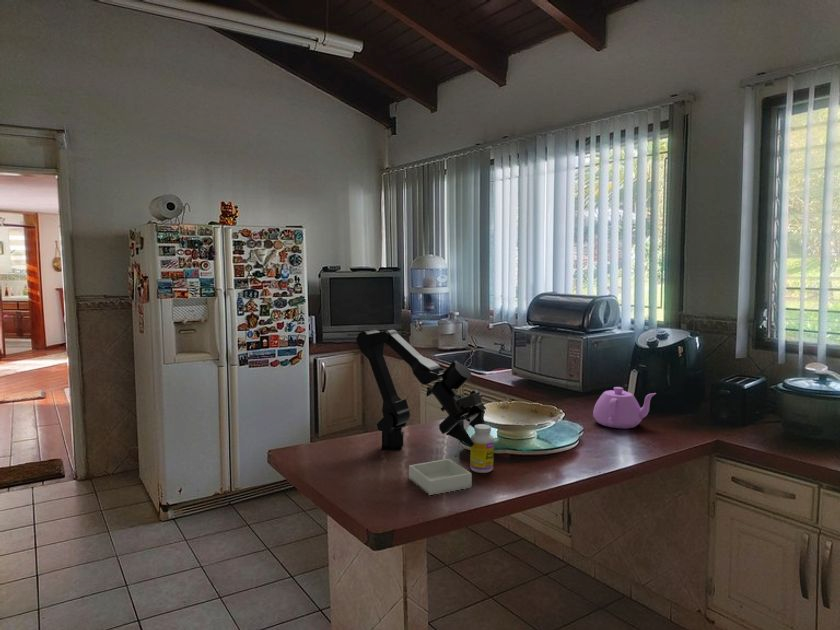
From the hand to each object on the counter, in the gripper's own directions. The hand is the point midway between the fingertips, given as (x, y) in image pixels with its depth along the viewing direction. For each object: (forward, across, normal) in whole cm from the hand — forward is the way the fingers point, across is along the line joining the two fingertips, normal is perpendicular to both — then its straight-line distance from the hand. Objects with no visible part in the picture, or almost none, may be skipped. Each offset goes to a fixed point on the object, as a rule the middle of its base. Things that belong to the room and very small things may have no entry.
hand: (480, 441), depth 169 cm
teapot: (+21, +70, -9) cm, 73 cm away
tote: (+3, -16, +8) cm, 18 cm away
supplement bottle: (+6, 0, +6) cm, 9 cm away
